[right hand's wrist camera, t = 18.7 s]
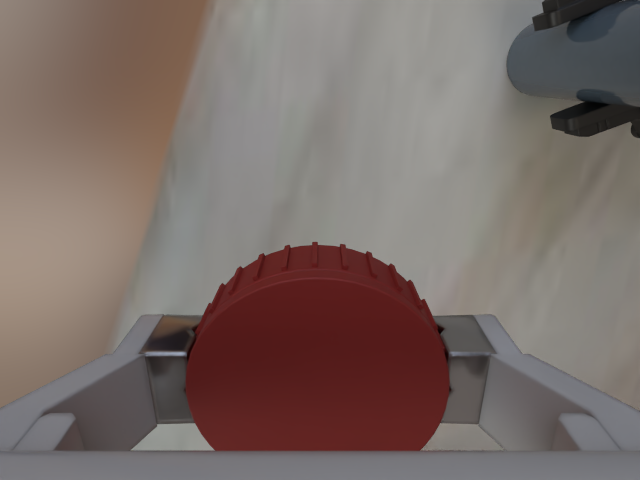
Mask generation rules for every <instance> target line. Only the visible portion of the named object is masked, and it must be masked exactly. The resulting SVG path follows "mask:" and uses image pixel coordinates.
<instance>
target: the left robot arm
mask: <svg viewBox="0 0 640 480" xmlns="http://www.w3.org/2000/svg"><path fill="white" fill-rule="evenodd" d="M619 1H621V0H545V1H544V2H542V5H543V11H544V13H542V14H539V15H537V16H534V17H532V20H533V25H534V30H535V31H540V30H545V29H549V28H553V27H556V26H559V25H561V24H564V23H566V22H569V21H571V20H574V19H576V18H579V17H581V16H584V15H586V14H589V13H591V12H594V11H596V10H599V9H601V8H604V7H606V6H608V5H611V4H614V3H616V2H619ZM550 118H551V124H552V128H553V129H556V130H561V131H564V132H565V133H566V134H570V135H575V136H579V137H589V136H592V135H595V134H597V133H599V132H603V131H605V130H607V129H611V128H614V127H616V126H619V125H622V124H624V123H627V122H630V121H631V123H632V126H631V133H632V135H633V136H634V137H637V138H640V107H631V106H621V105H612V104H603V103H593V102H583V103H581V104H578V105H575V106H573V107H570V108H567V109H565V110H562V111H559V112H557V113H554V114H552V115H551V116H550Z"/></svg>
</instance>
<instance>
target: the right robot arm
mask: <svg viewBox="0 0 640 480" xmlns="http://www.w3.org/2000/svg"><path fill="white" fill-rule="evenodd" d="M202 317H203V315H164V314H157V315H142V316H141V317H140V318H139V319H138V321H137V322H136V323H135V325H134V326H133V327H132V329H131V330H130V331H129V333H128V334H127V335H126V337H125V338H124V339H123V341H122V342H121V343H120V345H119V346H118V348H117V349H116V350H115V352H114V353H113V354H105V355H103V356H101V357H99V358H97V359H95V360H93V361H91V362H89V363H88V364H86V365H84V366H82V367H80V368H78V369H76V370H74V371H72V372H70V373H68V374H66V375H64V376H62V377H60V378H58V379H56V380H54V381H52V382H50V383H48V384H47V385H44V386H42V387H41V388H39V389H37V390H35V391H33V392H31V393H29V394H27V395H25V396H23V397H21V398H19V399H17V400H15V401H13V402H11V403H9V404H7V405H5V406H3V407H1V408H0V480H640V411H638V410H637V409H635V408H633V407H631V406H629V405H627V404H625V403H623V402H621V401H619V400H617V399H615V398H613V397H611V396H609V395H607V394H606V393H604V392H602V391H600V390H598V389H596V388H594V387H592V386H590V385H588V384H586V383H584V382H582V381H580V380H578V379H577V378H575V377H573V376H571V375H569V374H567V373H565V372H563V371H561V370H559V369H557V368H555V367H553V366H551V365H549V364H548V363H546V362H544V361H542V360H540V359H538V358H536V357H534V356H532V355H530V354H522V352H521V351H520V350H519V348H518V347H517V346H516V344H515V343H514V342H513V340H512V339H511V337H510V336H509V335H508V333H507V332H506V331H505V329H504V328H503V326H502V325H501V324H500V322H499V321H498V320H497V318H496V317H495V316H494V315H492V314H484V315H450V316H433V318H434V320H435V323H436V325H437V327H438V329H437V330H438V332H439V335H440V338H441V340H442V343H443V345H444V347H445V351H444V353H445V357H446V360H447V364H448V369H449V378H450V386H449V397H448V401H447V406H446V410H445V412H444V415H443V417H442V420H441V422H440V423H457V424H479V427H480V428H481V429H483V430H484V431H485V432H486V433H487V434H488V435H489V436H490V437H491V438H492V439H494V440H495V441H496V442H497V443H498V444H499V445H500V446H501V447H502V448H503V449H504V450H506V451H130V450H131V449H132V448H133V447H134V446H136V445H137V444H138V443H139V442H140V441H141V440H142V439H143V438H144V437H146V436H147V435H148V434H149V433H150V432H151V431H152V430H153V429H154V428H155V427H157V424H178V423H195V422H194V420H193V417H192V414H191V412H190V409H189V405H188V401H187V396H186V383H185V379H186V370H187V364H188V361H189V357H190V353H191V351H192V349H193V346H194V344H195V342H196V336H197V334H195V332H196V329H197V327H198V325H199V323H200V321H201V319H202Z"/></svg>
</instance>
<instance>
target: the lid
mask: <svg viewBox="0 0 640 480" xmlns="http://www.w3.org/2000/svg"><path fill="white" fill-rule="evenodd" d="M437 329H438V327H437V325H436V323H435V320H434V318H433V316H432V314H431V312H430V309H429V307H428V305H427V303H426V301H425V299H423V300H420V298H419V295H418V293H417V291H416V289H415V286H414V284H413V282H412V281H411V280H409V281H408V282H407V281H406V280H405V279H404V278H403V277H402V276H401V275H400V274H398V273H397V271H396V269H395V266H394V265H392V264H390V265H389V266H388V265H386V264H385V263H383V262H381V261H380V260H378V259H376V258H373V256H372V253H371V252H368V251H367V252H366V254H364V253H361V252H358V251H355V250H352V249H347V248H346V246H345V245H344V244H340V247H337V246H325V245H318V242H312V245H310V246H299V247H293V248H290V245H287V246H285V248H284V250H281V251H277V252H274V253H271V254H269V255H266V256H265V255H264V253H263V254H260V255H259V257H258V260H256V261H254V262H253V263H251V264H249V265H248V266H246V267H245V268H242V267H241V266H240V267H239V268H238V269H237V270H236V273H235V275H234V277H232V278H231V279H230V281H229V282H228V283H227V284H226V285H224V284H223V283H222V284H221V285H220V287H219V289H218V291H217V293H216V295H215V297H214V300H213V302H212V304H211V303H209V304H208V306H207V308H206V310H205V313H204V315H203V317H202V319H201V321H200V323H199V325H198V327H197V329H196V332H195V334H197V336H196V342H195V344H194V346H193V349H192V351H191V353H190V357H189V361H188V364H187V370H186V379H185V383H186V396H187V401H188V405H189V409H190V412H191V414H192V417H193V420H194V422H195V424H196V426H197V427H198V429H199V431H200V432H201V434H202V435H203V437H204V438H205V439H206V441H207V442H208V443H209V444H210V446H211V447H212V448H213V449H214V450H215V451H420V450H421V449H422V448H423V447H424V446H425V445H426V443H427V442H428V441H429V440H430V438H431V437H432V436H433V434H434V433H435V431H436V429H437V428H438V426H439V424H440V422H441V420H442V417H443V415H444V412H445V410H446V406H447V401H448V397H449V386H450V378H449V369H448V364H447V360H446V357H445V353H444V351H445V347H444V345H443V343H442V340H441V338H440V335H439V332H438V330H437Z"/></svg>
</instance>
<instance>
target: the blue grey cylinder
mask: <svg viewBox="0 0 640 480" xmlns="http://www.w3.org/2000/svg"><path fill="white" fill-rule="evenodd" d="M507 72H508V76H509V78H510V81H511V82H512V84H513V85H514V87H515V88H516V89H517V90H519V91H520V92H522V93H524V94H526V95H529V96H537V97H546V98H556V99H565V100H575V101H584V102H593V103H603V104H612V105H621V106H631V107H640V0H625V1H621V2H617V3H614V4H611V5H608V6H606V7H604V8H601V9H599V10H596V11H594V12H591V13H589V14H586V15H584V16H581V17H579V18H576V19H574V20H571V21H569V22H566V23H564V24H561V25H559V26H556V27H553V28H549V29H545V30H540V31H535V30H534V25H533V24H531V25H529V26H528V27H526V28H525V29H524V30H523V31H522V32H521V33H520V34H519V35H518V36H517V37H516V39H515V40H514V42H513V44H512V45H511V48H510V50H509V53H508V58H507Z"/></svg>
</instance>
